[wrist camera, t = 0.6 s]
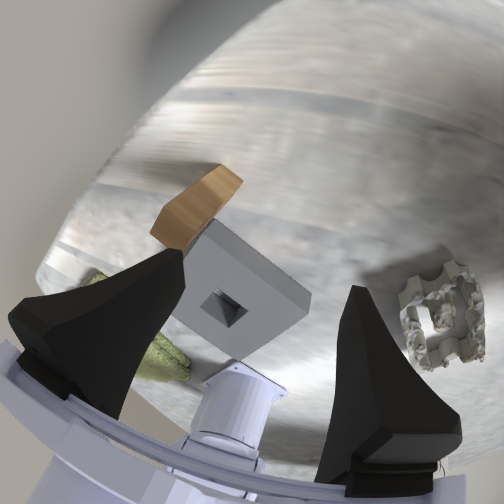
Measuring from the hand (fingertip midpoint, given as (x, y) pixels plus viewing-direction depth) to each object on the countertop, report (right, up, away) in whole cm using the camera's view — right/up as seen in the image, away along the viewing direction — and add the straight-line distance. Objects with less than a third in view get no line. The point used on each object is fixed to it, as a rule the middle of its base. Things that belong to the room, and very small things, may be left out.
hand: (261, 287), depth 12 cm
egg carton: (+16, -4, +10) cm, 19 cm away
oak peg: (-2, +6, +9) cm, 11 cm away
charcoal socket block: (-2, -2, +14) cm, 14 cm away
